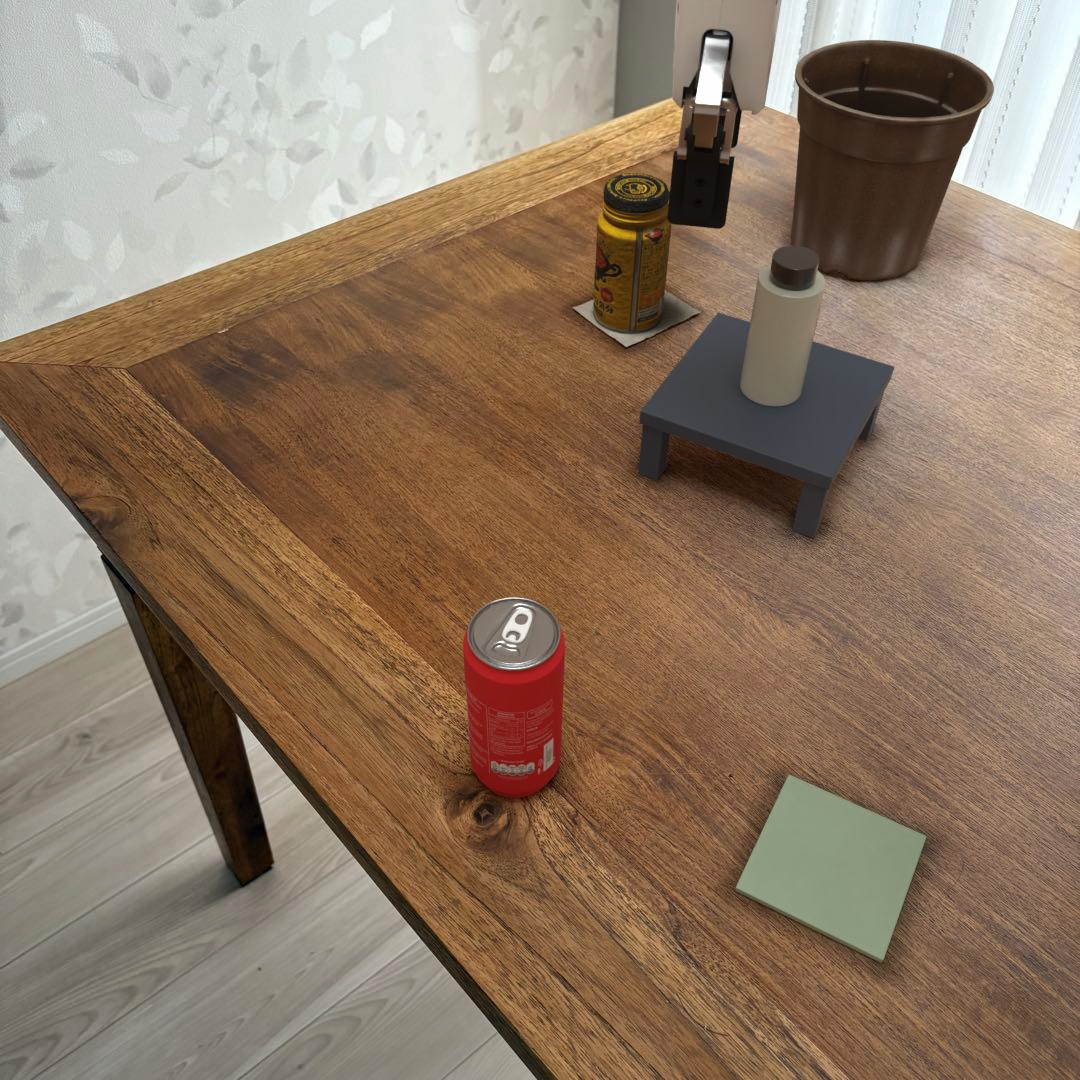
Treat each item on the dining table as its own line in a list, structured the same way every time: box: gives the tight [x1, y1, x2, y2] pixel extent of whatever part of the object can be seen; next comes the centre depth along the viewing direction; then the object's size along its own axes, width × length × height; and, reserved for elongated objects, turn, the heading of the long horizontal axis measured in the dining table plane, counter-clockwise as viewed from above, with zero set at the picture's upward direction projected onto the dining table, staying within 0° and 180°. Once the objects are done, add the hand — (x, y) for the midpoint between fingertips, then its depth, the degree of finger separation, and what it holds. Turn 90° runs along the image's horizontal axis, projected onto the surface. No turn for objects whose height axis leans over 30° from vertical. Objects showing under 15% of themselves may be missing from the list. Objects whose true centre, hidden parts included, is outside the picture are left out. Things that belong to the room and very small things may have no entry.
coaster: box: [734, 774, 928, 964], centre depth 60 cm, size 8×8×1 cm
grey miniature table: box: [637, 312, 895, 539], centre depth 82 cm, size 14×14×6 cm
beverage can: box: [462, 596, 566, 799], centre depth 60 cm, size 5×5×12 cm
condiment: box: [572, 172, 701, 348], centre depth 92 cm, size 7×8×12 cm
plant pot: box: [790, 39, 995, 281], centre depth 99 cm, size 16×16×16 cm
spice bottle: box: [740, 244, 826, 407], centre depth 76 cm, size 4×4×11 cm
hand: (703, 182), depth 65 cm, fingers open, 9 cm apart
